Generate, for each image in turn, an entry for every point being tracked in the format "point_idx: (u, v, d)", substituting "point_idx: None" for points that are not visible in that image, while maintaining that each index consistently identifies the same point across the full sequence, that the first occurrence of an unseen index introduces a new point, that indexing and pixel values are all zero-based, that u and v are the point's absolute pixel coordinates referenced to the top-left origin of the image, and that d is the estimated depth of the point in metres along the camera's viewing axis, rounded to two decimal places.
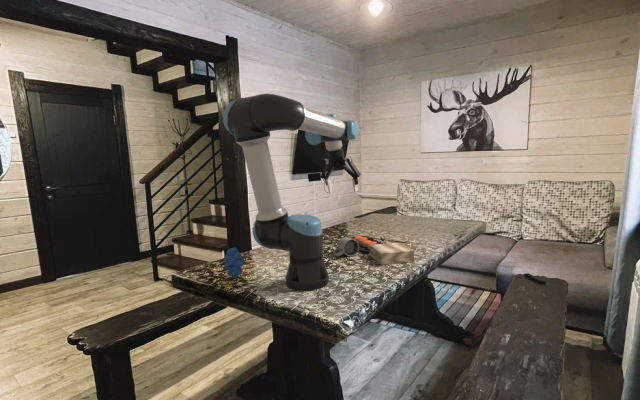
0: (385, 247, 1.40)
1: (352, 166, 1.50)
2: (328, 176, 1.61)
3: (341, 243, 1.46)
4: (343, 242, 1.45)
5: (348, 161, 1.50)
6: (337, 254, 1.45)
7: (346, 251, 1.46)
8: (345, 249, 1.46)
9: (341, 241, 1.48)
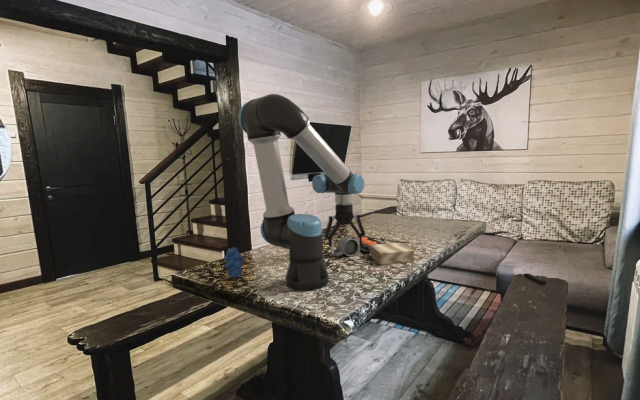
0: (385, 247, 1.40)
1: (361, 223, 1.46)
2: None
3: (341, 243, 1.46)
4: (343, 242, 1.45)
5: (358, 218, 1.46)
6: (337, 254, 1.45)
7: (346, 251, 1.46)
8: (345, 249, 1.46)
9: (341, 241, 1.47)
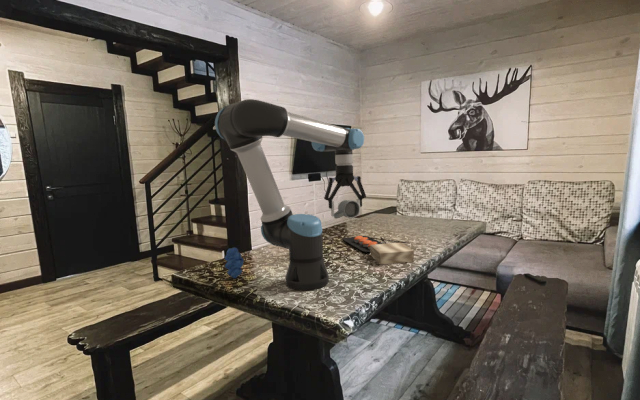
0: (385, 247, 1.40)
1: None
2: None
3: (341, 205, 1.44)
4: (344, 204, 1.43)
5: (359, 179, 1.44)
6: (337, 216, 1.42)
7: (347, 213, 1.44)
8: (345, 211, 1.43)
9: (341, 203, 1.45)
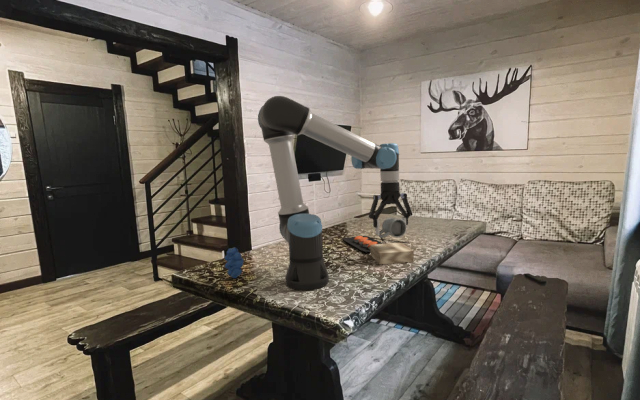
0: (385, 247, 1.40)
1: None
2: None
3: (387, 224, 1.37)
4: (390, 223, 1.36)
5: (405, 196, 1.37)
6: (383, 235, 1.35)
7: (392, 232, 1.37)
8: (391, 230, 1.37)
9: (386, 222, 1.38)
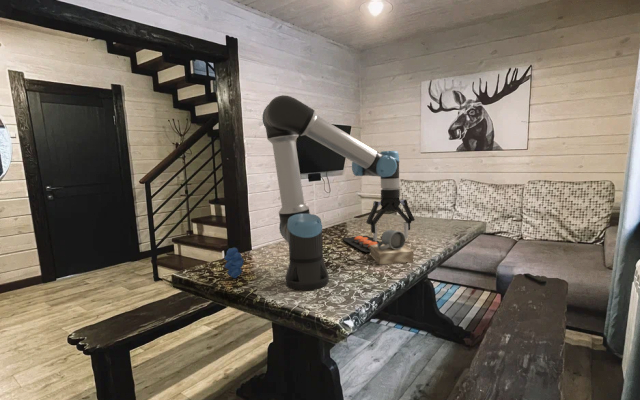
0: None
1: None
2: None
3: (386, 235, 1.37)
4: (389, 235, 1.36)
5: (405, 203, 1.37)
6: (383, 247, 1.36)
7: (392, 244, 1.37)
8: (391, 242, 1.37)
9: (386, 233, 1.39)
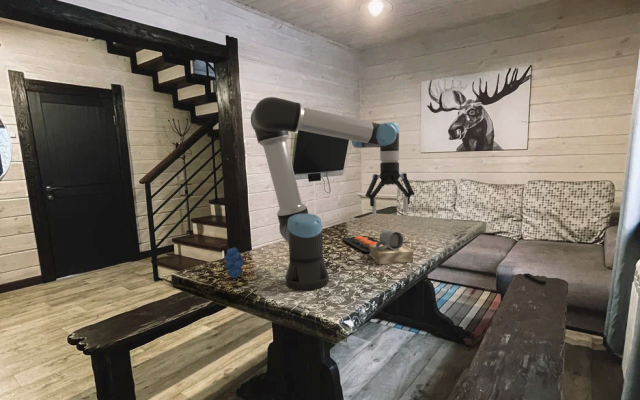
0: None
1: (408, 182, 1.36)
2: None
3: (384, 236, 1.37)
4: (387, 235, 1.36)
5: (405, 176, 1.36)
6: (381, 247, 1.35)
7: (390, 244, 1.37)
8: (389, 242, 1.37)
9: (384, 234, 1.38)
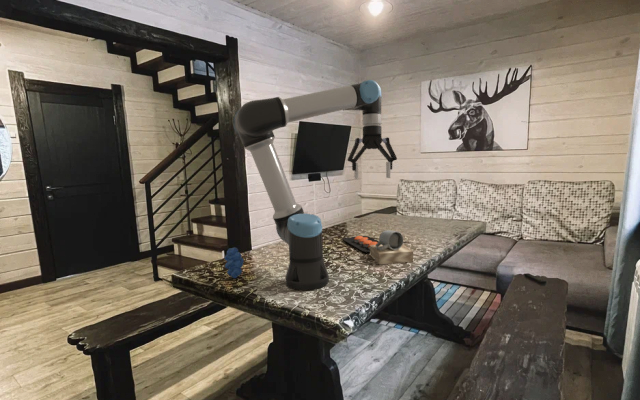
0: None
1: (391, 147, 1.35)
2: None
3: (384, 236, 1.37)
4: (387, 235, 1.36)
5: (388, 140, 1.34)
6: (381, 248, 1.35)
7: (390, 244, 1.37)
8: (389, 242, 1.37)
9: (384, 234, 1.38)
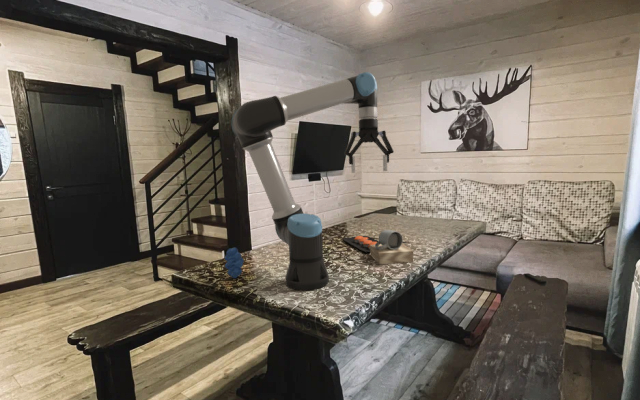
0: None
1: None
2: None
3: (384, 236, 1.37)
4: (386, 235, 1.36)
5: (384, 134, 1.34)
6: (380, 247, 1.35)
7: (389, 244, 1.37)
8: (388, 242, 1.37)
9: (383, 234, 1.39)
